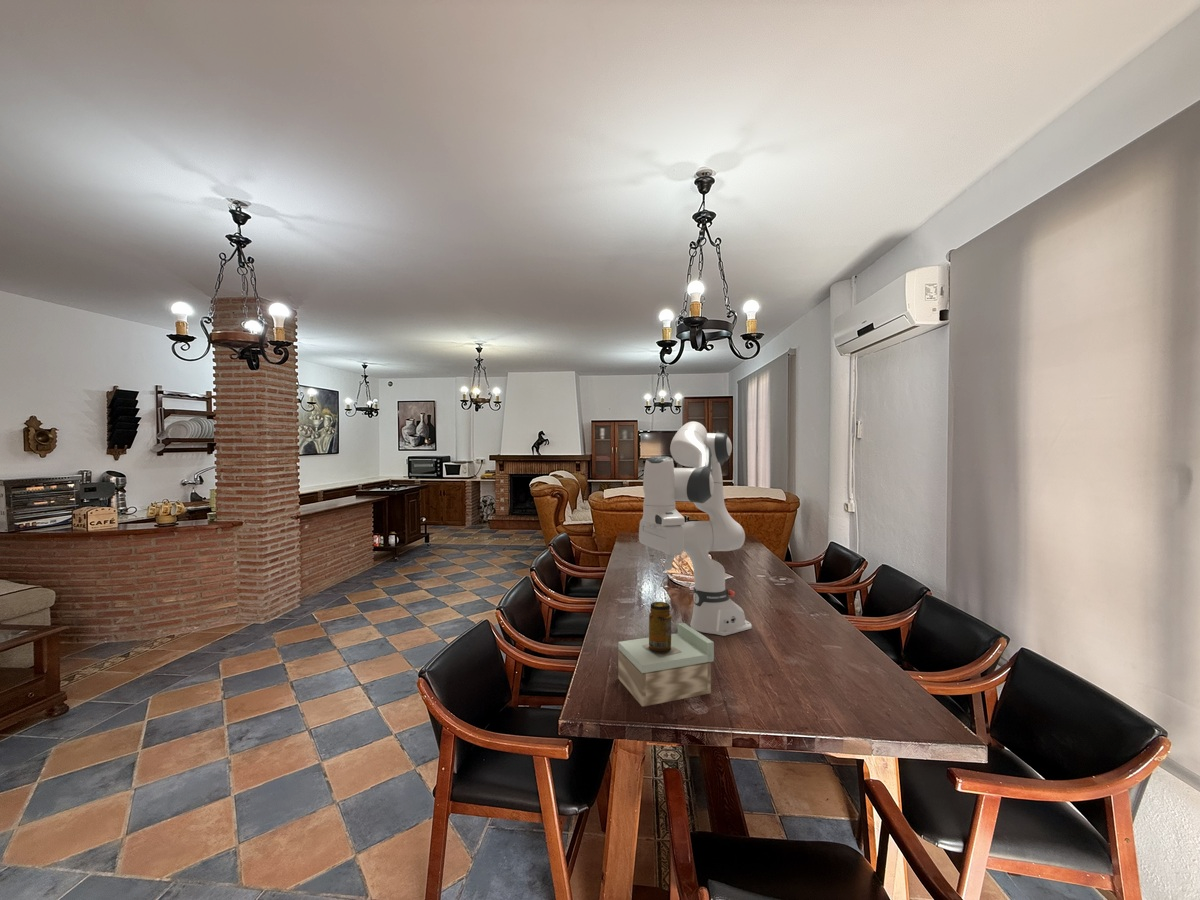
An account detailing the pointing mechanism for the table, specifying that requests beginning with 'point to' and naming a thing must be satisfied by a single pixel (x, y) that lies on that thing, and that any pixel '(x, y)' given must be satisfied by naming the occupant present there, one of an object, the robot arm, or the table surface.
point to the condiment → (660, 630)
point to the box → (664, 682)
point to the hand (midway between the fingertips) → (659, 565)
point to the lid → (685, 640)
